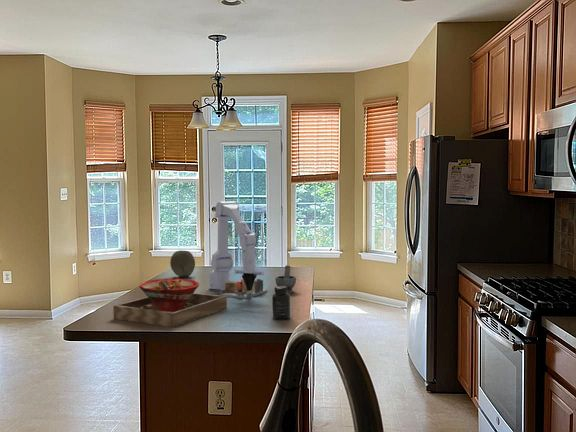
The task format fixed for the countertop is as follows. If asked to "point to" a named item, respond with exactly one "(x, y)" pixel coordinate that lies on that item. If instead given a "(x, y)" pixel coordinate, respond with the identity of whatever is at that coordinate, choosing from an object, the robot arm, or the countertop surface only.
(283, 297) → the supplement bottle
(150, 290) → the stew
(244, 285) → the block
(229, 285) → the block
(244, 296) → the rail
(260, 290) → the press
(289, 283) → the mortar and pestle
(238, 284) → the lever
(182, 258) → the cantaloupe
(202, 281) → the countertop surface
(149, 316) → the wooden tray
